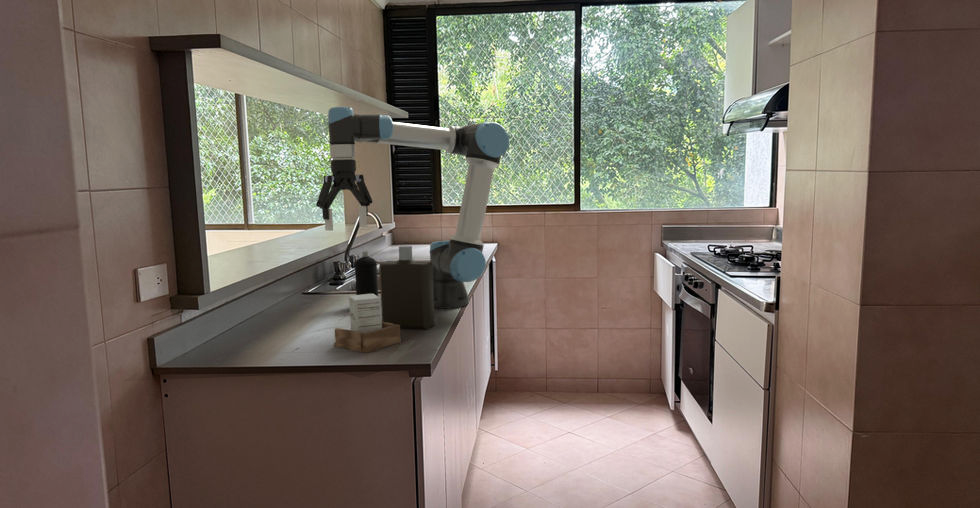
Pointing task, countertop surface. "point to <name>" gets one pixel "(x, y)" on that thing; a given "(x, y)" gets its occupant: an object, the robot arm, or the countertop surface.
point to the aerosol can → (366, 275)
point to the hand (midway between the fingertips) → (346, 228)
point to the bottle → (407, 291)
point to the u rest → (368, 338)
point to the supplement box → (365, 313)
